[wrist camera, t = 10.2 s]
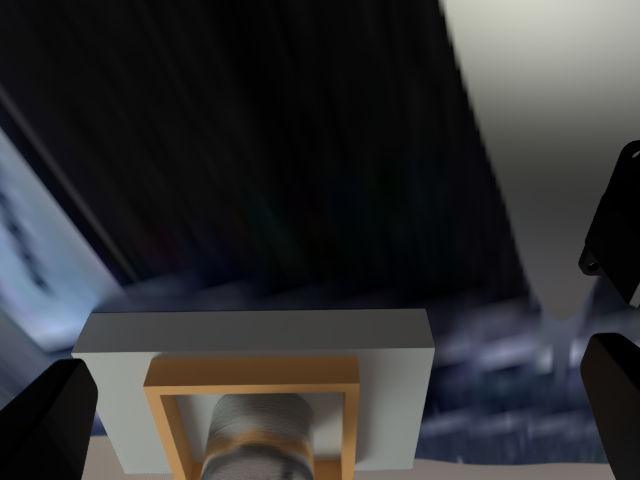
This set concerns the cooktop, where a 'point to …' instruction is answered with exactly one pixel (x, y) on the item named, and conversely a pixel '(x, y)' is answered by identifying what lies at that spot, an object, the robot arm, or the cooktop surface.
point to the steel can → (260, 438)
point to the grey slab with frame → (260, 381)
